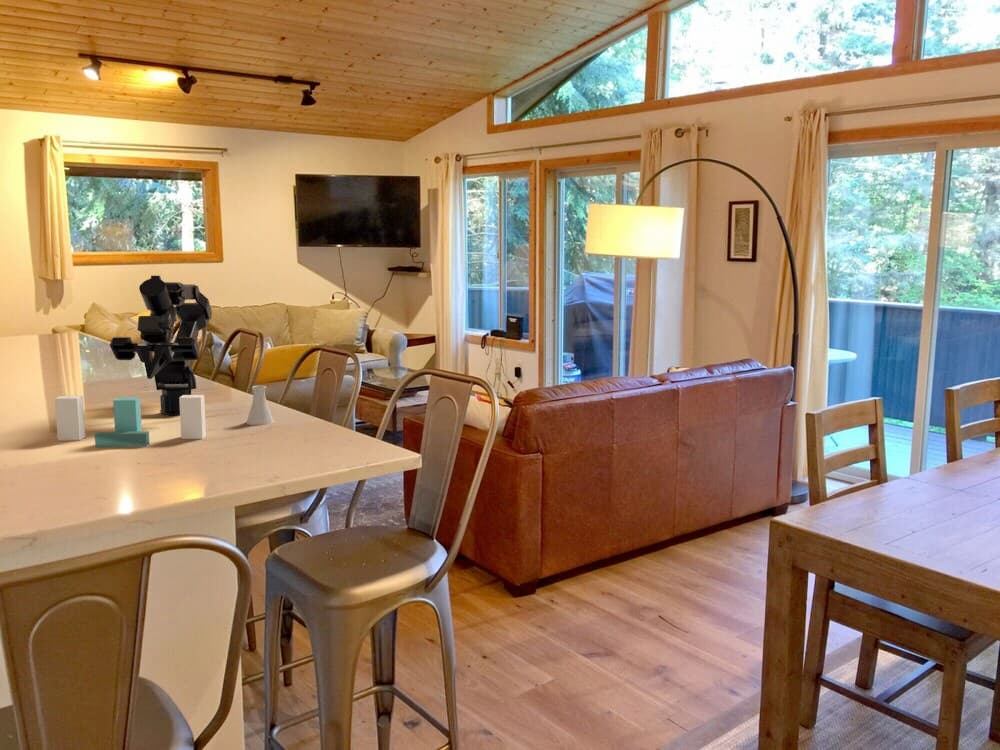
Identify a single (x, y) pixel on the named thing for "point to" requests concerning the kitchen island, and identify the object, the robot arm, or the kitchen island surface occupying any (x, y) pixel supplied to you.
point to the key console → (122, 439)
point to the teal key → (127, 414)
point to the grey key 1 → (70, 418)
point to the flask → (259, 408)
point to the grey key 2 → (192, 416)
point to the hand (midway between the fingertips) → (149, 377)
